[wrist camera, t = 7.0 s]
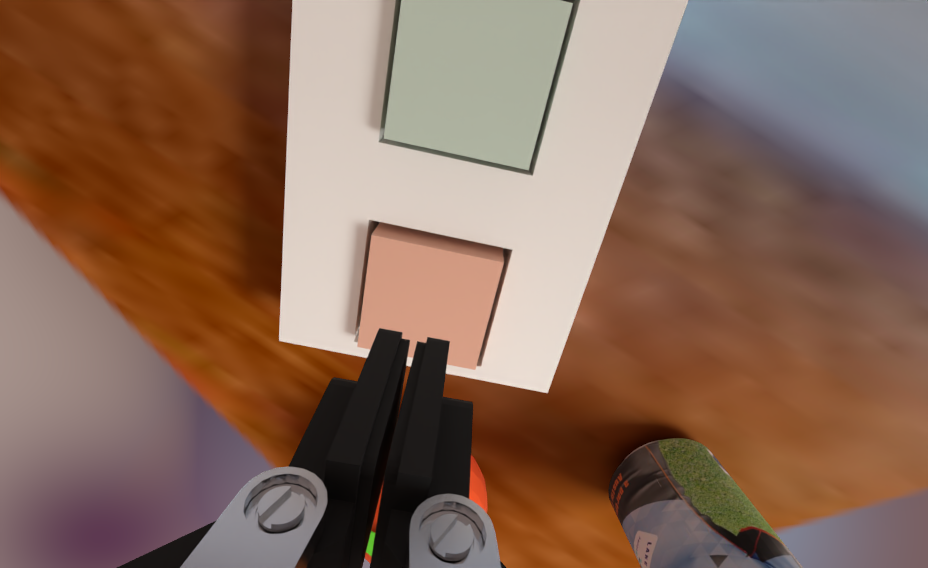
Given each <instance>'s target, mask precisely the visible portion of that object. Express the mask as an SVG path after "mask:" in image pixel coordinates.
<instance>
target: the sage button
mask: <svg viewBox="0 0 928 568" xmlns="http://www.w3.org/2000/svg"><path fill="white" fill-rule="evenodd" d="M572 5H573V3H570V2H565V1H561V0H401V6H400V14H399V22H398V30H397V38H396V46H395V54H394V61H393V69H392V77H391V85H390V93H389V101H388V109H387V117H386V124H385V132H384V139H388V140H393V141H397V142H402V143H407V144H411V145H416V146H420V147H425V148H429V149H434V150H438V151H443V152H448V153H452V154H457V155H461V156H466V157H470V158H475V159H479V160H484V161H489V162H493V163H498V164H502V165H507V166H511V167H516V168H520V169H525V170H529V167H530V163H531V159H532V155H533V152H534V148H535V144H536V140H537V137H538V133H539V129H540V125H541V122H542V118H543V114H544V110H545V106H546V103H547V99H548V95H549V91H550V88H551V84H552V80H553V76H554V73H555V69H556V65H557V61H558V58H559V54H560V50H561V46H562V43H563V39H564V35H565V31H566V28H567V24H568V20H569V16H570V13H571V9H572Z"/></svg>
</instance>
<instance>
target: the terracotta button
mask: <svg viewBox="0 0 928 568" xmlns="http://www.w3.org/2000/svg"><path fill="white" fill-rule="evenodd" d="M503 264H504V258H503V248H502V247H497V246H492V245H488V244H483V243H478V242H473V241H469V240H464V239H459V238H454V237H450V236H445V235H440V234H435V233H431V232H426V231H421V230H416V229H412V228H407V227H402V226H397V225H393V224H388V223H383V222H380V223H379V224H378V226H377V227H376V229H375V230H374V232H373V233H372V235H371V242H370V250H369V258H368V266H367V274H366V282H365V289H364V297H363V305H362V313H361V321H360V329H359V337H358V344H357V347H360V348H365V349H371V347H372V344H373V342H374V339H375V337H376V334H377V332H378V330H379V328H382V329H387V330H393V331H398V332H402V339H408V340H410V345H409V351H408V357H411V358H413V356H414V352H415V348H416V344H417V341H419V342H424V343H426V341H427V337H431V338H436V339H442V340H447V341H450V344H449V352H448V359H447V365H452V366H457V367H462V368H467V369H472V370H475V369H476V366H477V362H478V358H479V354H480V351H481V347H482V343H483V339H484V336H485V332H486V328H487V324H488V321H489V317H490V313H491V309H492V306H493V302H494V298H495V294H496V291H497V287H498V283H499V279H500V276H501V272H502V268H503Z"/></svg>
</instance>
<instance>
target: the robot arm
mask: <svg viewBox="0 0 928 568" xmlns="http://www.w3.org/2000/svg"><path fill="white" fill-rule="evenodd" d="M449 344H450V341H447V340H442V339H436V338H431V337H427V341H426V343H424V342H419V341H417V344H416V348H415V352H414V356H413V360H412V364H411V368H410V372H409V376H408V380H407V384H406V388H405V392H404V396H403V400H402V404H401V408H400V412H399V407H400V401H401V394H402V388H403V382H404V376H405V370H406V364H407V358H408V351H409V345H410V340H408V339H402V332H398V331H393V330H387V329H382V328H379V330H378V332H377V334H376V337H375V339H374V342H373V344H372V347H371V349H370V352H369V354H368V357H367V359H366V362H365V364H364V367H363V369H362V372H361V374H360V377H359V379H358V382H357V381H352V380H346V379H341V378H335V377H334V378H332V380H331V381H330V383H329V385H328V387H327V389H326V391H325V393H324V395H323V397H322V399H321V401H320V403H319V405H318V407H317V409H316V411H315V414H314V416H313V418H312V420H311V422H310V424H309V426H308V428H307V430H306V432H305V434H304V436H303V438H302V440H301V442H300V444H299V446H298V448H297V450H296V452H295V454H294V456H293V458H292V461H291V463H290V465H289V467H280V468H275V469H272V470H269V471H265V472H263V473H262V474H260V475H258V476H256V477H254V478H253V479H251V480H250V481H249V482H248V483H247V484H246V485H245V486H244V487H243V488H242V489H241V490H240V491H239V493H238V494H237V495H236V497H235V498H234V499H233V500H232V502H231V503H230V504H229V506H228V507H227V508H226V509H225V511H224V512H223V513H222V515H221V516H220V517H219V519H218V520H217V521H215V522H213V523H210V524H208V525H206V526H204V527H202V528H200V529H198V530H196V531H194V532H192V533H189V534H187V535H185V536H183V537H181V538H179V539H177V540H175V541H172V542H170V543H168V544H166V545H164V546H162V547H160V548H158V549H156V550H153V551H151V552H149V553H147V554H145V555H143V556H141V557H139V558H136V559H135V560H132V561H130V562H128V563H126V564H124V565H122V566H120V567H117V568H362V566H363V562H364V558H365V554H366V550H367V546H368V542H369V538H370V533H371V529H372V525H373V521H374V517H375V513H376V509H377V505H378V501H379V497H380V493H381V489H382V494H381V500H380V506H379V513H378V519H377V525H376V532H375V538H374V544H373V551H372V557H371V563H370V568H506V567H505V566H504V565H503V563H502V562H501V561H500V558H499V552H498V546H497V541H496V535H495V530H494V528H493V525H492V522H491V519H490V518H489V516H488V515H487V514H486V512H485V511H484V509H482V508H481V507H480V506H479V505H478V504H476V503H475V502H474V501H472V500H470V499H469V492H470V468H471V443H472V419H473V403H472V402H469V401H463V400H458V399H452V398H447V397H443V390H444V382H445V374H446V367H447V359H448V352H449ZM398 413H399V416H398ZM397 419H398V420H397ZM382 485H383V487H382Z"/></svg>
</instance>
